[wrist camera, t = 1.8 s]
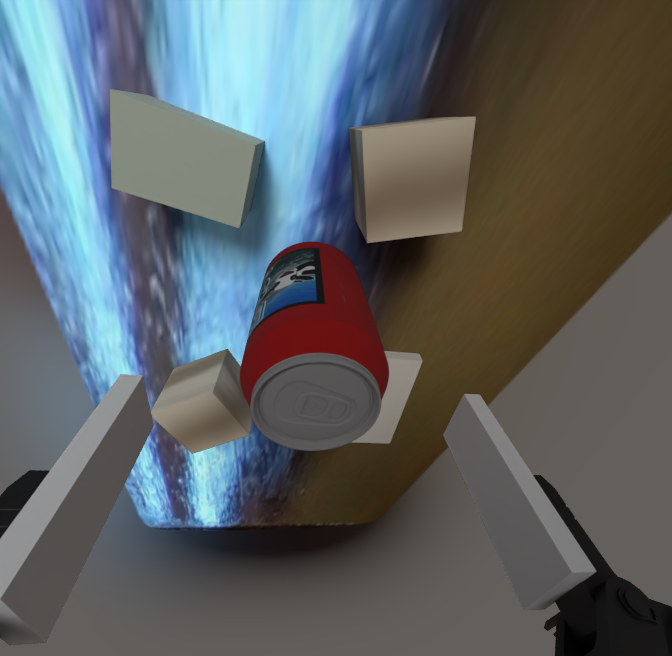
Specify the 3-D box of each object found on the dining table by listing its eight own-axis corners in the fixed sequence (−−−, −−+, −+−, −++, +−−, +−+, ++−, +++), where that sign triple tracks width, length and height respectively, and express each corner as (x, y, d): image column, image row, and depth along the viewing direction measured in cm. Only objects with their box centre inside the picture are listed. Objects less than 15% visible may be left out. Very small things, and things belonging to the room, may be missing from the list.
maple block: (174, 367, 26) (149, 414, 22) (227, 348, 25) (212, 392, 21) (208, 405, 29) (192, 453, 25) (257, 388, 28) (249, 435, 24)
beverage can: (278, 222, 20) (252, 322, 10) (373, 255, 22) (429, 368, 12) (254, 309, 24) (217, 447, 14) (338, 331, 25) (360, 469, 15)
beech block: (348, 128, 18) (362, 130, 14) (435, 117, 18) (475, 116, 14) (354, 218, 21) (367, 243, 16) (430, 208, 21) (461, 231, 16)
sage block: (149, 95, 16) (110, 89, 13) (264, 140, 18) (255, 145, 14) (147, 175, 18) (111, 187, 15) (250, 210, 20) (239, 228, 16)
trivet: (291, 343, 25) (291, 350, 25) (419, 353, 27) (422, 361, 26) (282, 431, 31) (281, 440, 31) (387, 435, 33) (389, 443, 32)
